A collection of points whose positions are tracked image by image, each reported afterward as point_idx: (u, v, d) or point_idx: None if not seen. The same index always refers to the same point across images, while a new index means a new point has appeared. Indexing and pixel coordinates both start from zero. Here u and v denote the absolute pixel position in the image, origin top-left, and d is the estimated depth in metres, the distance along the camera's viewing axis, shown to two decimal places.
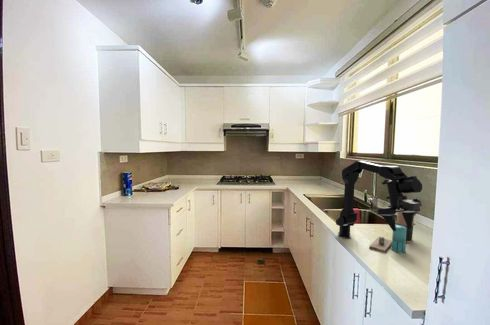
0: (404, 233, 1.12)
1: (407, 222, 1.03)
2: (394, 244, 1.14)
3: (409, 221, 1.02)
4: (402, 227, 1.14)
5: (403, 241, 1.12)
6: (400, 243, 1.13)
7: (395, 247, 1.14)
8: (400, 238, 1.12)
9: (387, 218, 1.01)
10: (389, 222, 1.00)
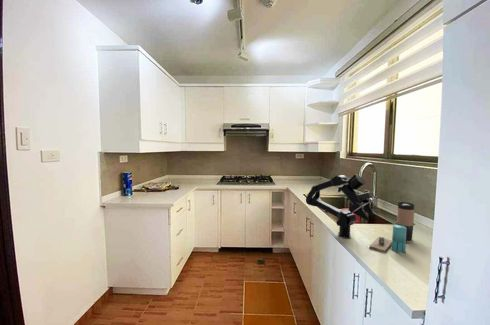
0: (404, 233, 1.12)
1: (369, 212, 1.28)
2: (394, 244, 1.14)
3: (370, 210, 1.28)
4: (402, 227, 1.14)
5: (403, 241, 1.12)
6: (400, 243, 1.13)
7: (395, 247, 1.14)
8: (400, 238, 1.12)
9: (358, 212, 1.22)
10: (361, 215, 1.21)
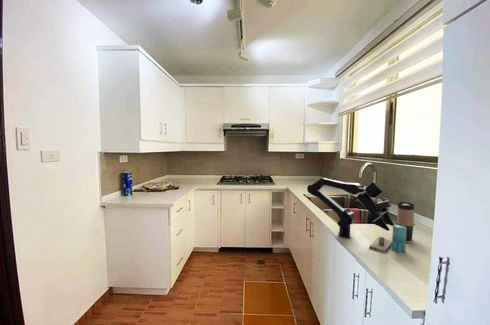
0: (404, 233, 1.12)
1: (388, 222, 1.22)
2: (394, 244, 1.14)
3: (389, 220, 1.22)
4: (402, 227, 1.14)
5: (403, 241, 1.12)
6: (400, 243, 1.13)
7: (395, 247, 1.14)
8: (400, 238, 1.12)
9: (377, 222, 1.16)
10: (381, 225, 1.15)
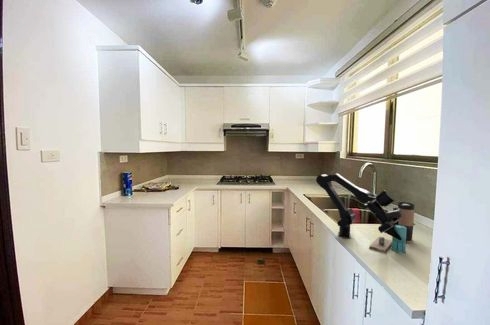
0: (404, 233, 1.12)
1: None
2: (394, 244, 1.14)
3: None
4: (402, 227, 1.14)
5: (403, 241, 1.12)
6: (400, 243, 1.13)
7: (395, 247, 1.14)
8: None
9: (389, 232, 1.14)
10: (393, 234, 1.13)
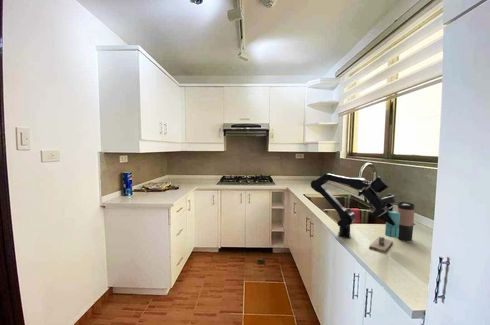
0: (397, 218, 1.14)
1: None
2: (387, 229, 1.16)
3: None
4: (396, 213, 1.15)
5: (396, 226, 1.14)
6: (393, 228, 1.14)
7: (389, 233, 1.16)
8: None
9: (383, 217, 1.15)
10: (386, 219, 1.15)
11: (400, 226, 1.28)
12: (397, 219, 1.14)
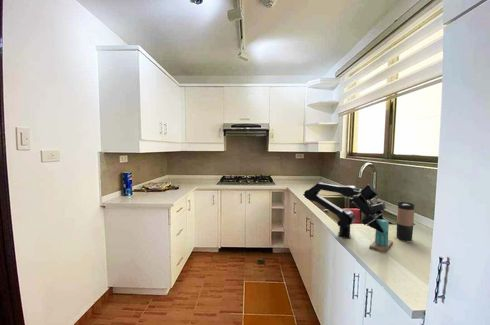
0: (386, 227, 1.17)
1: None
2: (377, 237, 1.20)
3: None
4: (385, 221, 1.19)
5: (385, 234, 1.18)
6: (382, 236, 1.18)
7: (378, 240, 1.19)
8: (383, 232, 1.18)
9: (372, 225, 1.18)
10: (375, 227, 1.17)
11: (400, 226, 1.28)
12: (386, 227, 1.17)
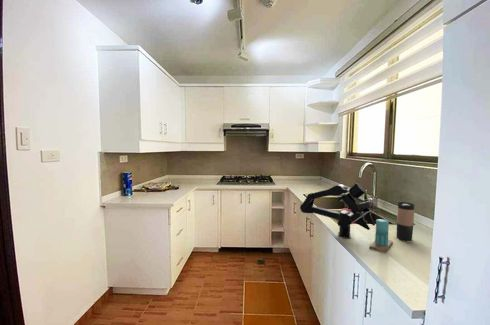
0: (386, 227, 1.17)
1: (370, 221, 1.28)
2: (377, 237, 1.20)
3: (370, 219, 1.28)
4: (385, 221, 1.19)
5: (385, 234, 1.18)
6: (382, 236, 1.18)
7: (378, 240, 1.19)
8: (383, 232, 1.18)
9: (359, 222, 1.22)
10: (362, 224, 1.21)
11: (400, 226, 1.28)
12: (386, 227, 1.17)
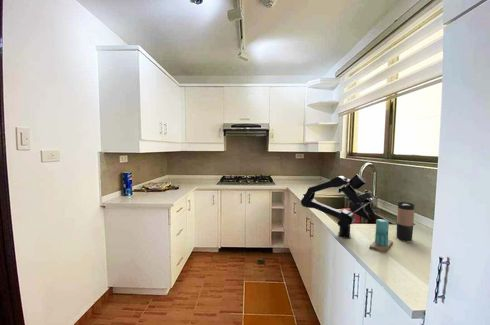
0: (386, 227, 1.17)
1: (370, 212, 1.28)
2: (377, 237, 1.20)
3: (371, 211, 1.28)
4: (385, 221, 1.19)
5: (385, 234, 1.18)
6: (382, 236, 1.18)
7: (378, 240, 1.19)
8: (383, 232, 1.18)
9: (359, 213, 1.22)
10: (362, 215, 1.21)
11: (400, 226, 1.28)
12: (386, 227, 1.17)
